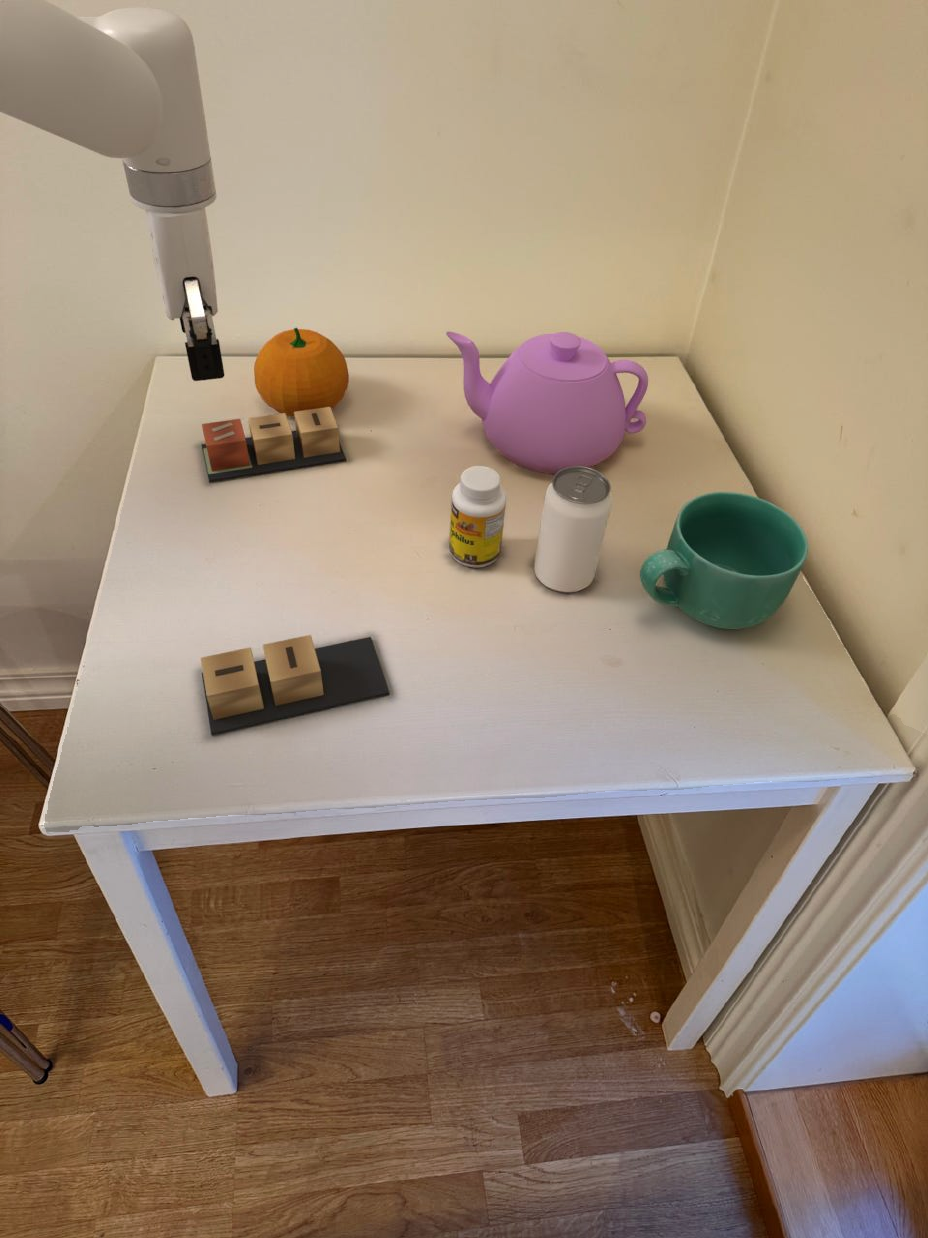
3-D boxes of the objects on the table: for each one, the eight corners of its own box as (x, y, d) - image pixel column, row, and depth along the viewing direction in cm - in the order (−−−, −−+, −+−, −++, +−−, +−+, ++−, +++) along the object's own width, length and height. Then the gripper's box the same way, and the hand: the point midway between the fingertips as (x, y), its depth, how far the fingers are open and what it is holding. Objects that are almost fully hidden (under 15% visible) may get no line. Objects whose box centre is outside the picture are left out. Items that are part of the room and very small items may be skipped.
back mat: (209, 482, 95) (208, 479, 95) (202, 446, 99) (201, 443, 99) (346, 461, 99) (346, 457, 98) (333, 427, 103) (333, 424, 103)
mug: (739, 549, 92) (767, 482, 85) (799, 632, 84) (835, 566, 77) (602, 574, 88) (618, 505, 81) (651, 663, 80) (675, 596, 73)
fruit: (238, 405, 105) (225, 333, 98) (299, 366, 112) (292, 295, 105) (309, 439, 101) (302, 366, 94) (368, 396, 108) (365, 325, 101)
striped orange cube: (211, 471, 95) (206, 445, 93) (207, 449, 98) (201, 423, 95) (250, 465, 97) (245, 439, 94) (244, 443, 99) (240, 417, 97)
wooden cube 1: (213, 720, 73) (206, 695, 70) (207, 682, 76) (200, 656, 73) (264, 709, 74) (258, 684, 71) (256, 671, 77) (250, 646, 74)
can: (524, 583, 87) (538, 493, 78) (544, 545, 91) (560, 456, 82) (583, 602, 85) (604, 514, 76) (601, 563, 89) (623, 474, 80)
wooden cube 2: (275, 706, 74) (270, 681, 71) (267, 669, 77) (262, 643, 74) (324, 695, 75) (320, 670, 72) (314, 659, 78) (310, 633, 75)
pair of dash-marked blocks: (257, 465, 97) (253, 439, 94) (252, 443, 100) (247, 417, 97) (340, 452, 99) (338, 426, 97) (332, 431, 102) (330, 405, 99)
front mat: (211, 736, 72) (211, 733, 72) (202, 675, 77) (201, 672, 76) (389, 694, 76) (389, 692, 76) (370, 639, 80) (370, 636, 80)
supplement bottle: (438, 547, 90) (441, 472, 82) (479, 528, 92) (485, 453, 84) (469, 577, 87) (475, 502, 79) (510, 557, 89) (520, 482, 82)
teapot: (632, 403, 110) (655, 305, 100) (648, 487, 98) (676, 387, 88) (445, 392, 110) (448, 293, 100) (439, 476, 98) (442, 373, 88)
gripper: (121, 147, 79) (158, 317, 91) (133, 221, 68) (173, 403, 80) (202, 144, 81) (228, 311, 93) (226, 215, 70) (251, 393, 82)
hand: (202, 353), depth 87 cm, fingers open, 9 cm apart
